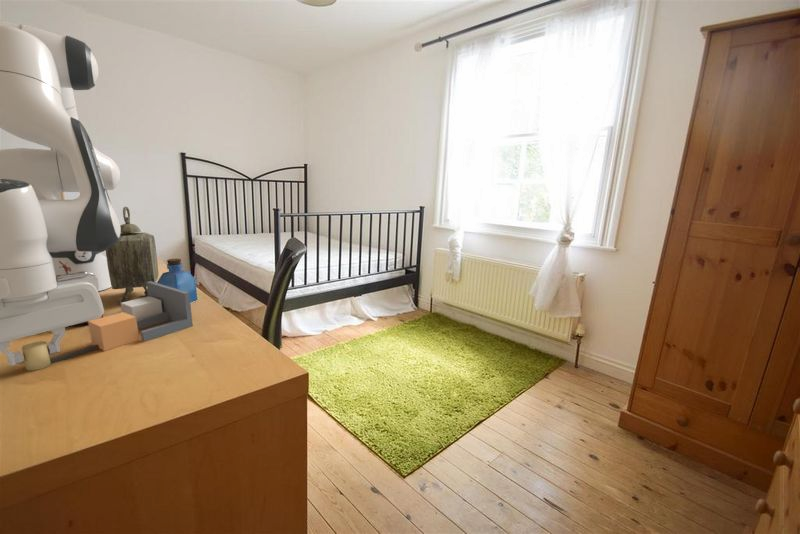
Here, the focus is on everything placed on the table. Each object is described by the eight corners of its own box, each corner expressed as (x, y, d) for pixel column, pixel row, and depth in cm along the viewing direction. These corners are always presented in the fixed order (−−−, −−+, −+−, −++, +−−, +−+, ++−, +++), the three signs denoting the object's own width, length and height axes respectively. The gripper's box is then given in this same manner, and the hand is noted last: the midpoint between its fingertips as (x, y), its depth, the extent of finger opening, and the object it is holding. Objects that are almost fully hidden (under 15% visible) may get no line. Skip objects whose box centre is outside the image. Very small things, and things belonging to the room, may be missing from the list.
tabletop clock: (124, 291, 103) (111, 205, 97) (161, 288, 107) (151, 205, 101) (113, 306, 90) (98, 208, 85) (156, 302, 95) (144, 208, 89)
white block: (123, 323, 81) (120, 302, 80) (152, 315, 86) (149, 296, 85) (134, 328, 78) (131, 307, 77) (163, 320, 83) (161, 300, 82)
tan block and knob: (21, 366, 61) (15, 339, 60) (126, 334, 75) (123, 312, 74) (32, 374, 59) (26, 346, 58) (139, 339, 73) (136, 317, 71)
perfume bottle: (179, 308, 91) (174, 263, 89) (159, 305, 92) (153, 261, 90) (197, 300, 97) (193, 258, 94) (178, 298, 98) (173, 256, 96)
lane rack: (106, 324, 79) (101, 290, 78) (154, 311, 88) (150, 281, 86) (144, 341, 72) (139, 304, 70) (192, 325, 80) (189, 292, 79)
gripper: (88, 267, 68) (99, 333, 71) (-89, 292, 50) (-63, 379, 54) (104, 271, 65) (115, 340, 68) (-78, 300, 48) (-52, 391, 51)
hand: (35, 358), depth 61 cm, fingers open, 3 cm apart
